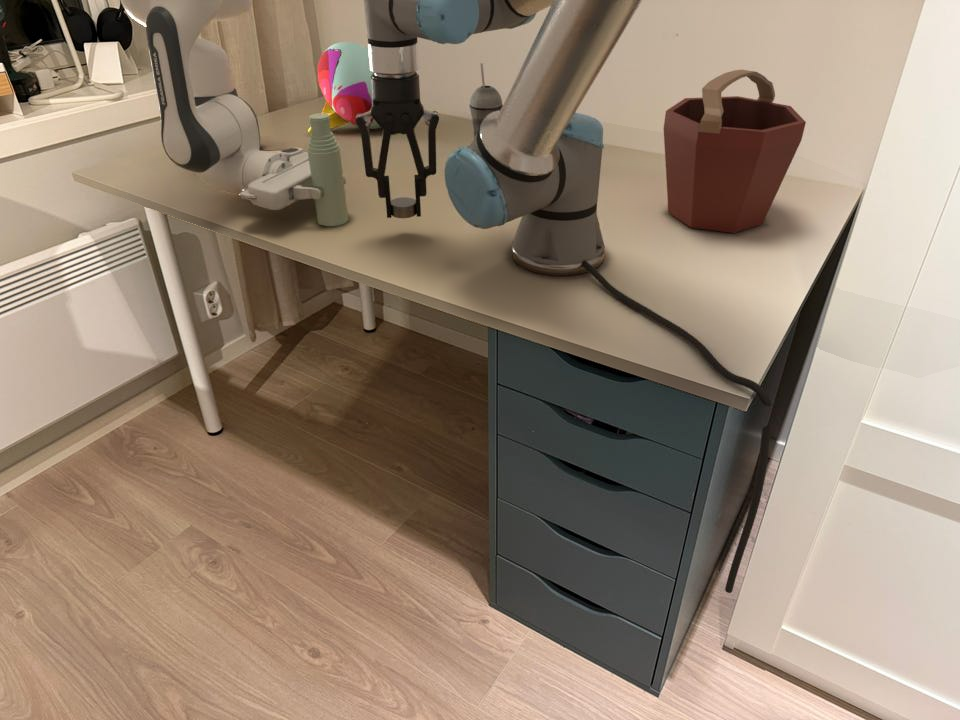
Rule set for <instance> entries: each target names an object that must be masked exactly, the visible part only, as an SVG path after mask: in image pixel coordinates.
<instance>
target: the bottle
mask: <svg viewBox="0 0 960 720" xmlns="http://www.w3.org/2000/svg"><path fill="white" fill-rule="evenodd" d="M308 120H309V124H310V127H311V131H312V133H309V135H310V137H309V139H308V140H309V141H308V145H307V149H306V150H307V151H306V152H308V158H309V165H310V172H311V178H312V185H313V187H314V186H317V187H322V188H323V193H324V196H323V197H321V198H320V199H314V205H315V212H316V218H317V223H318V224H319V225H321V226H324V227H338V226H341V225H344V224H346V223H348V221H349V215H348V214H349V213H348V206H347V197H346V190H345V184H344V180H343V175H344V173H343V165H342V155H341V147H340V146H339V143H338V142H337V141H338V140H337V138H336V137H335V135H334V134H333V131H332V129H330V121H329V120H330V117H329V115H328V114H324V113H312V114H311V115H309V116H308Z"/></svg>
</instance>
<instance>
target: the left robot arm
mask: <svg viewBox="0 0 960 720" xmlns="http://www.w3.org/2000/svg"><path fill="white" fill-rule="evenodd" d="M120 3H121V6H122V7H123V9H124V10H125V11H126V13H127V15H129V16H130V17H131V19H134V21H136V22H137V23H139V24H141V25H143V26H144V27H145V33H146V41H147V42H146V43H147V48H148V54H149V60H150V65H151V69H152V76H153V80H154V81H153V82H154V86H155V91H156V97H157V101H158V107H159V108H158V109H159V114H160V140H161V143H162V148H163V150H164V152H165V154H166V155H167V157H168V158H169V160H171V161H172V162H173V163H174V164H175V165H176V166H178V167H180V168H182V169H184V170H186V171H189V172H192V173H195V174H196V176H197V178H198V179H199V180H200V181H201V182H202V183H204V184H205V185H206V186H208V187H210V188H212V189H215V190H217V191H220V192H224V193H228V194H232V195H238V196H239V197H240V199H242V200H249V201H250V203H251V204H252V205H254V206H257V207H260V208H263V209H266V210H270V211H280V210H283V209H284V208H287V207H288V206H290V205H291V204H293V203H295V202H297V201H299V200H311V199H313V200H315V199H320V198H321V197H323V196H324V193H323V188H322V187H317V186H314V187H313V185H312V178H311V172H310V165H309V158H308V151H304V149H303V148H302V147H290V148H286V149H282V150H269V151H267V150H262V149H261V135H260V134H261V133H260V126H259V121H258V118H257V115H256V112H255V111H254V109H253V107H251V105H250V104H249V103H248V102H247V101H246V100H244V99H243V98H242V97H239V94H238V90H237V88H235V86H234V81H233V76H232V71H231V65H230V61H229V56H228V53H227V52H226V51H225V50H224V48H223V47H221V45H219V44H218V43H215V42H213V41H211V40H208V39H206V38H204V37H201V36H200V35H201V34H202V32H203V31H204V30H205V29H206V27H208V26H209V25H210V24H211V23H213V22H214V23H215V22H226V21H231V20H235V19H239V18H242V17H245V16H247V15H248V13H250V10H251V8H252V6H253V0H120ZM343 180H344V185H346V184H347V178H346V176H345V174H343Z"/></svg>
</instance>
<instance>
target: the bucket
mask: <svg viewBox="0 0 960 720" xmlns="http://www.w3.org/2000/svg"><path fill="white" fill-rule="evenodd" d="M746 77H747V78H748V79H749V80H750V81H751V82H752V83H754V84H755V85H756V88H757V91H758V98H757V99H754V98H750V97H744V96H739V95H736V96H733V95H732V96H731V95H730V96H722V92H724V91H725V90H726V89H727V88H728V87H729V86H730V85H732V84H734V83H735V82H737V81H738V80H740V79H743V78H746ZM701 96H702V97H685V98H683V99H682V100H680V101H679V102H677V103H676V104H674V105H672V106H670V107H669V108H668V109H667V110H665V115H664V122H663V143H664V156H665V157H664V159H665V161H664V162H665V177H666V179H665V180H666V192H667V193H666V194H667V196H666V197H667V212H668V214H670V215H671V216H672V217H674V218H676V219H677V220H679V221H680V222H681V223H683V224H684V225H686V226H687V227H689V228H691V229H698V230H707V231H715V232H721V233H732V234H735V233H739V232H742V231H745V230H749V229H751V228H754V227H757V226H760V225H762V224H764V222H765V219H766V218H767V215H768V213H769V211H770V209H771V207H772V205H773V202H774V201H775V198H776V196H777V195H778V192H779V189H780V187H781V185H782V183H783V181H784V179H785V177H786V175H787V173H788V170H789V168H790V167H791V164H792V162H793V159H794V158H795V155H796V153H797V151H798V150H799V149H798V148H799V147H800V145H801V142H802V139H803V135H804V132H805V128H806V125H807V124H806V120H805V119H804V118H803V117H802V116H801V115H800V114H799V113H798V112H797V111H796V110H795V109H794V108H793V107H792V106H791V105H787V104H781V103H776V102H774V101H775V98H776V92H775V88H774V83H773V82H772V81H771V80H769V79H768V78H767V77H766V76H765V75H763V74H761V73H760V72H758V71H755V70H748V69H735V70H732V71H727V72H724V73H722V74H720V75H717V76H716V77H714V78H713V79H711V80H709V81H708V82H707V83H706V84H705V85H704V86H703V87H702V88H701Z"/></svg>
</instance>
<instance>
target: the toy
mask: <svg viewBox="0 0 960 720" xmlns="http://www.w3.org/2000/svg"><path fill="white" fill-rule="evenodd" d="M373 73H374V72H372V71H371V70H370V64H369V53H368V46H365V45H362V44H360V43H357V42H353V41H352V42H351V41H341V42H337V43H336V42H335V43H334V44H332V45H330V46H329V47H327V48H326V49H325V50H324V51H323V52H322V54H321V56H320V58H319V61H318V64H317V81H318V85H319V88H320V91H321V93H322V95H323V97H324V99H325V102H324V108H323V109H322V111H321V113H324V114H328V115H329V117H330V120H329V121H330V129H331V130H333V129H336V128H339V127H342V126H345V125H347V124H351V125H353V126H356V127H358V125H357V123H356V116H357V114H358V113H362V114H363V113H366V112H368V111H370V110H371V106H372V104H373V99H372V87H371V76H372V74H373ZM378 129H382V128H381V127H380V126H379V125H378V123H377V122H376V121H375V120H374V118H372V119H371V126H370V127H369V130H378ZM307 132H308V134H311V133H312V131H311V126H310V127H309V128H308V129H307Z"/></svg>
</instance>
